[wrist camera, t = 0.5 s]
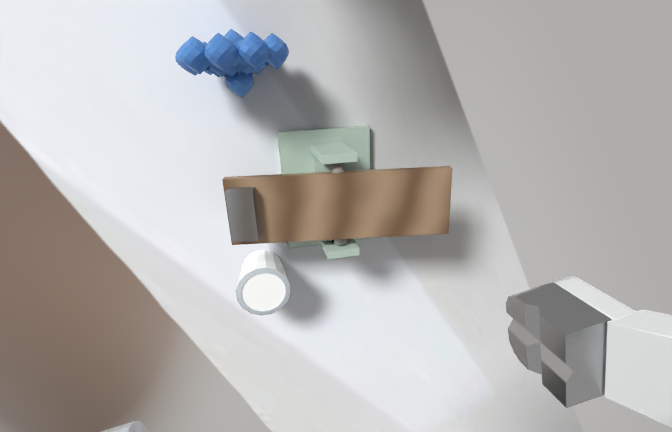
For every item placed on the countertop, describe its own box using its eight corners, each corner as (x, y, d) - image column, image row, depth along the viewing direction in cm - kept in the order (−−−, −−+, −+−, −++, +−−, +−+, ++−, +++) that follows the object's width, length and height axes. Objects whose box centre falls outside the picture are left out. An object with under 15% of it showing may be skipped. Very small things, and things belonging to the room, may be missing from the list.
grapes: (193, 100, 46) (176, 106, 35) (181, 39, 44) (158, 24, 33) (289, 91, 48) (301, 94, 37) (282, 32, 46) (293, 16, 35)
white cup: (294, 257, 56) (300, 280, 49) (271, 295, 57) (274, 323, 51) (251, 238, 53) (252, 259, 47) (228, 278, 55) (226, 304, 48)
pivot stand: (277, 131, 49) (283, 142, 41) (367, 125, 52) (391, 134, 43) (288, 245, 55) (295, 276, 46) (368, 235, 57) (390, 263, 48)
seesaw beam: (236, 245, 48) (230, 258, 45) (225, 167, 45) (217, 174, 41) (442, 234, 49) (452, 246, 45) (447, 156, 45) (457, 162, 42)
